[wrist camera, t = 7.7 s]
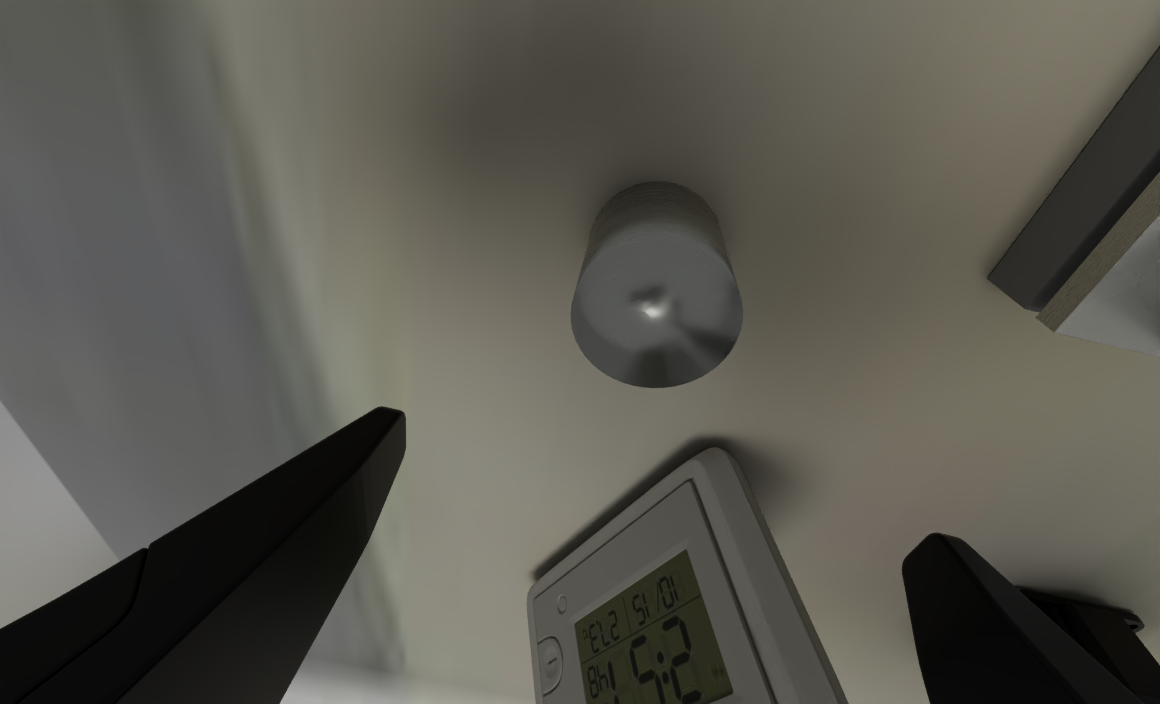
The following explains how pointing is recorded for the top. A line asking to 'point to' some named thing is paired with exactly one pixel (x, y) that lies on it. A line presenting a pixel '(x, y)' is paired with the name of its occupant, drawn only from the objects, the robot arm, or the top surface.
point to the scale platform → (1116, 284)
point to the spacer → (656, 289)
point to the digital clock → (678, 605)
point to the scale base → (1087, 197)
